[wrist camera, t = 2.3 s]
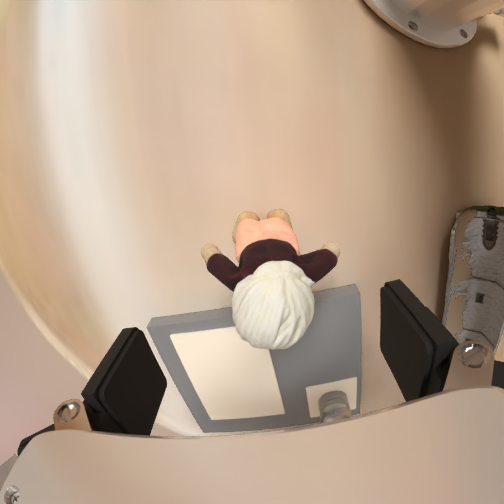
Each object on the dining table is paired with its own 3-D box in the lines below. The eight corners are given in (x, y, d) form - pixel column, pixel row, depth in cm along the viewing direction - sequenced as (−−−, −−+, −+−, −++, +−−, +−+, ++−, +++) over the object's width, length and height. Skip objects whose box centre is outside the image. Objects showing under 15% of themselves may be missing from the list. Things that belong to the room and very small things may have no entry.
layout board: (355, 283, 23) (361, 294, 22) (356, 403, 29) (360, 415, 27) (152, 317, 25) (145, 329, 24) (205, 423, 31) (203, 434, 29)
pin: (347, 387, 25) (359, 435, 20) (347, 405, 26) (357, 450, 21) (317, 393, 26) (324, 443, 20) (318, 411, 27) (325, 457, 21)
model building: (458, 193, 22) (433, 378, 31) (447, 213, 18) (414, 415, 27) (524, 201, 17) (478, 391, 26) (531, 225, 13) (463, 431, 22)
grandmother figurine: (227, 262, 23) (192, 382, 11) (213, 215, 22) (155, 305, 10) (324, 241, 22) (380, 348, 10) (315, 192, 21) (378, 260, 9)
